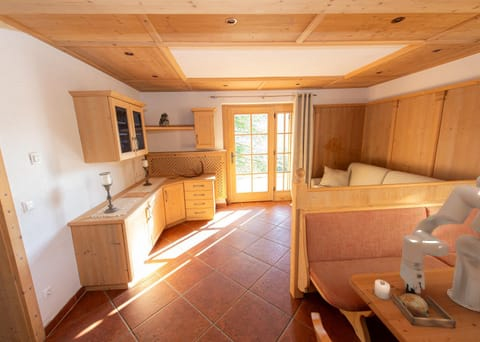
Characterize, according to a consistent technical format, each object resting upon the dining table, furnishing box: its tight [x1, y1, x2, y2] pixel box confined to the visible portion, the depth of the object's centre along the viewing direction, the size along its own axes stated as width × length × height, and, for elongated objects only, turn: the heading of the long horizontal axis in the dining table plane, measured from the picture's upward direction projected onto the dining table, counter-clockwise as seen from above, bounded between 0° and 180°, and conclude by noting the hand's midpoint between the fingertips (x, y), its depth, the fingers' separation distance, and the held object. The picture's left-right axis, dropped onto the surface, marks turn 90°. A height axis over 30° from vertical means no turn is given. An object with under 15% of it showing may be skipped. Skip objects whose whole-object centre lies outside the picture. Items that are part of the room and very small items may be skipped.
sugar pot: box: [374, 279, 391, 301], centre depth 96 cm, size 6×6×8 cm
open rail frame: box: [390, 292, 457, 329], centre depth 86 cm, size 16×14×3 cm
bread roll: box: [398, 292, 430, 318], centre depth 88 cm, size 10×10×8 cm
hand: (410, 296), depth 94 cm, fingers closed
